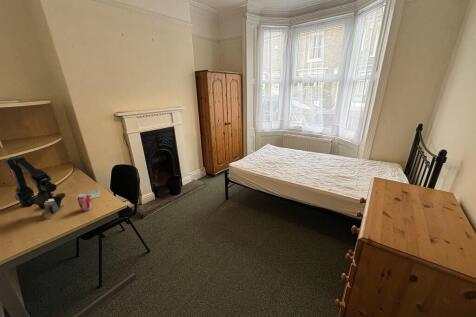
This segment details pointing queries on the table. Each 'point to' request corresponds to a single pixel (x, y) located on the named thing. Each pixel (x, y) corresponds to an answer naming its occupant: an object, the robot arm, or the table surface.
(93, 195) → the handheld gaming console
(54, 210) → the gray rectangular block
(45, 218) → the notched board
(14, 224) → the table surface
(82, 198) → the soda can
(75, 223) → the table surface
